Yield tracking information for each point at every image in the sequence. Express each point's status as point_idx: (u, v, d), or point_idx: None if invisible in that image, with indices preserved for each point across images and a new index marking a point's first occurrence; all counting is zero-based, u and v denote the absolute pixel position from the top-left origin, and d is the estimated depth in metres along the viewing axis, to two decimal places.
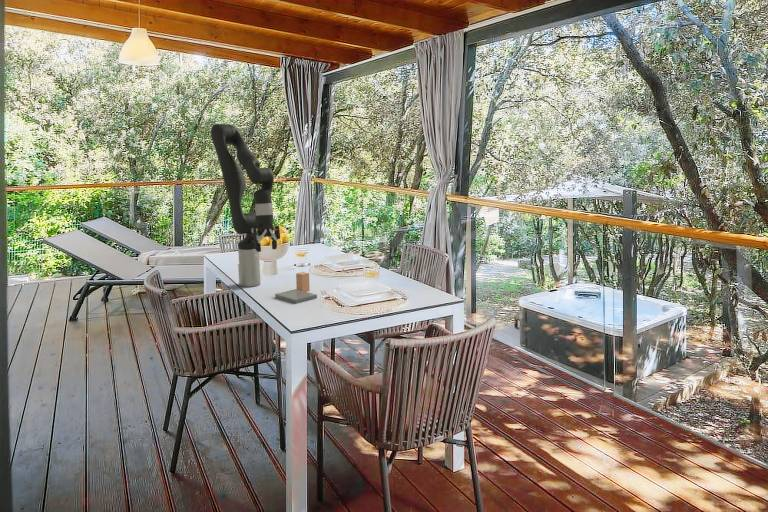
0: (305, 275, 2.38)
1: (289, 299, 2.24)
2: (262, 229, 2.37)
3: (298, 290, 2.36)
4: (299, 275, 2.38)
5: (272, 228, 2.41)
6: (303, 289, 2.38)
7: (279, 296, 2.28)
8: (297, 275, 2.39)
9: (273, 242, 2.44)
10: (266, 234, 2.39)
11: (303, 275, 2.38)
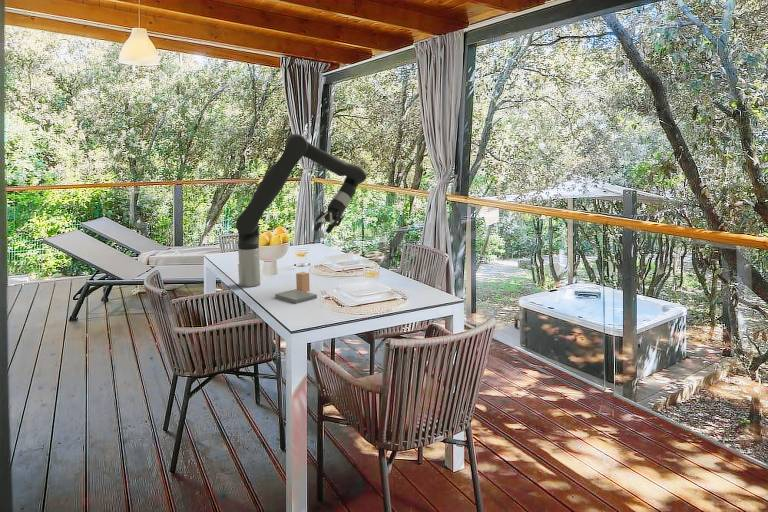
0: (305, 275, 2.38)
1: (289, 299, 2.24)
2: None
3: (298, 290, 2.36)
4: (299, 275, 2.38)
5: None
6: (303, 289, 2.38)
7: (279, 296, 2.28)
8: (297, 275, 2.39)
9: (319, 225, 2.48)
10: None
11: (303, 275, 2.38)
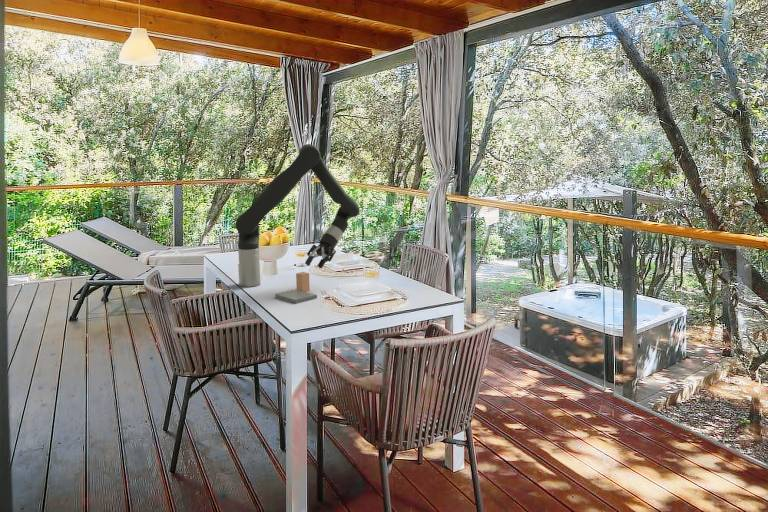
0: (305, 275, 2.38)
1: (289, 299, 2.24)
2: None
3: (298, 290, 2.36)
4: (299, 275, 2.38)
5: None
6: (303, 289, 2.38)
7: (279, 296, 2.28)
8: (297, 275, 2.39)
9: (310, 259, 2.47)
10: None
11: (303, 275, 2.38)
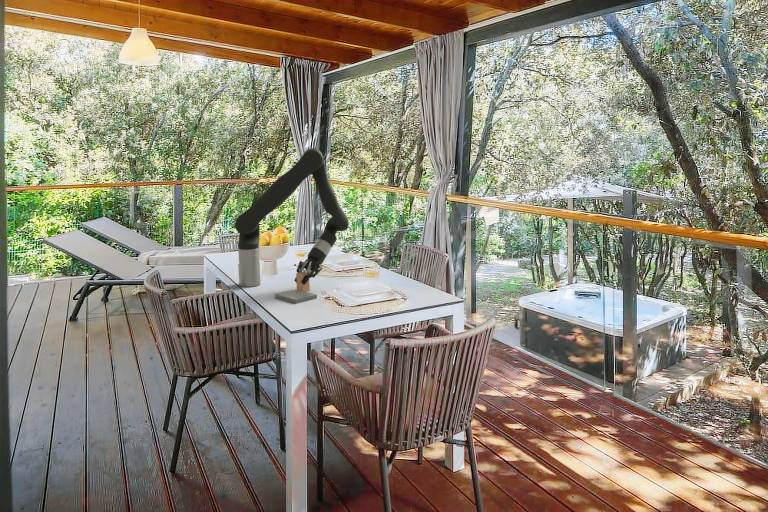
0: None
1: (289, 299, 2.24)
2: None
3: (298, 290, 2.36)
4: (299, 275, 2.38)
5: None
6: (303, 289, 2.38)
7: (279, 296, 2.28)
8: (297, 275, 2.39)
9: None
10: None
11: (303, 275, 2.38)
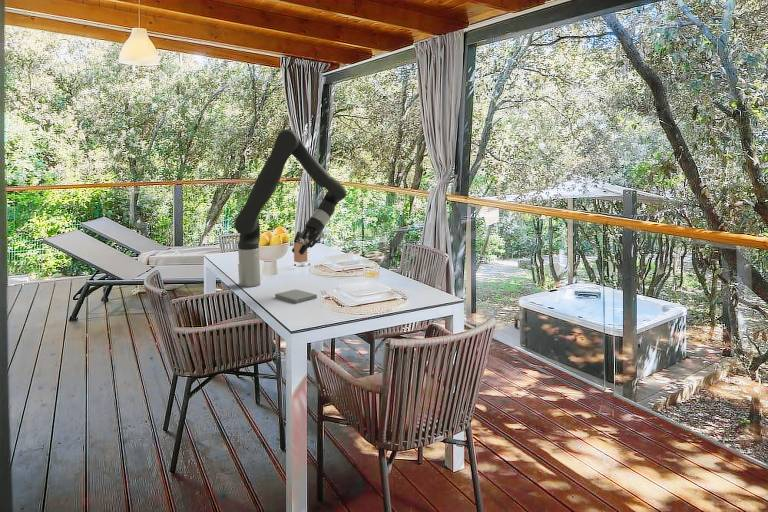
0: None
1: (289, 299, 2.24)
2: None
3: (298, 290, 2.36)
4: (297, 245, 2.33)
5: None
6: (301, 259, 2.33)
7: (279, 296, 2.28)
8: (295, 245, 2.34)
9: None
10: None
11: (301, 245, 2.32)
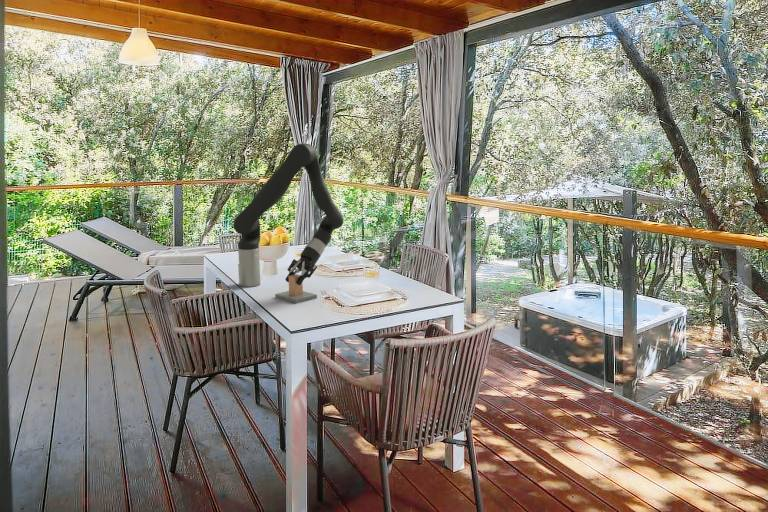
0: None
1: (289, 299, 2.24)
2: None
3: None
4: (292, 278, 2.26)
5: None
6: (296, 292, 2.27)
7: (279, 296, 2.28)
8: (290, 278, 2.27)
9: None
10: None
11: (296, 278, 2.26)
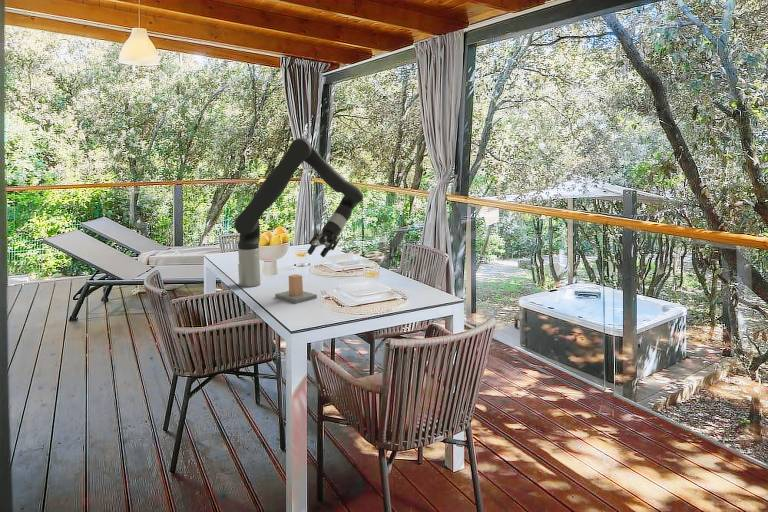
0: (298, 278, 2.27)
1: (289, 299, 2.24)
2: None
3: None
4: (292, 278, 2.26)
5: None
6: (296, 292, 2.27)
7: (279, 296, 2.28)
8: (290, 278, 2.27)
9: (313, 248, 2.38)
10: None
11: (296, 278, 2.26)
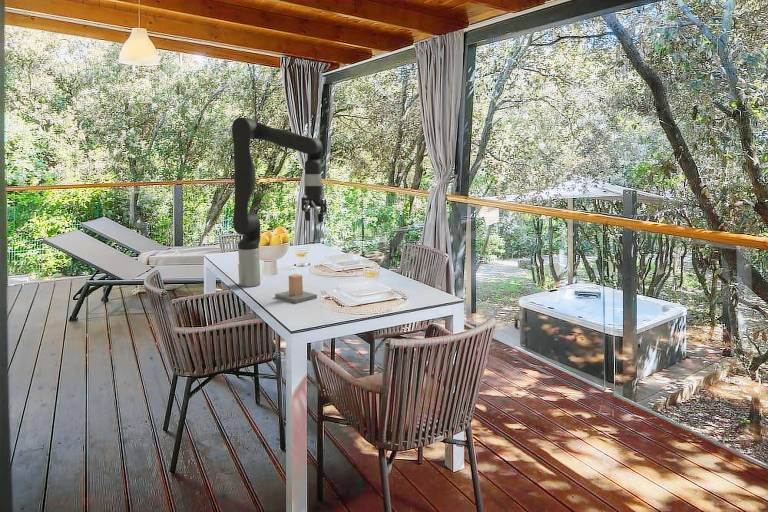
0: (298, 278, 2.27)
1: (289, 299, 2.24)
2: None
3: None
4: (292, 278, 2.26)
5: None
6: (296, 292, 2.27)
7: (279, 296, 2.28)
8: (290, 278, 2.27)
9: (308, 213, 2.43)
10: None
11: (296, 278, 2.26)
